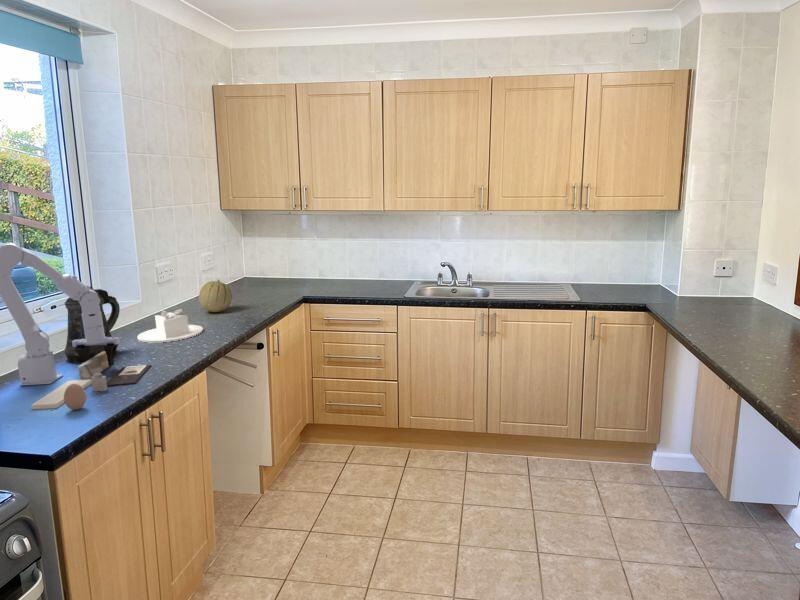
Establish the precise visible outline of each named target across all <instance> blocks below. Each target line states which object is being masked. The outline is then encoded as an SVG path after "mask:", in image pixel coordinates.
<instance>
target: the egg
mask: <svg viewBox="0 0 800 600" xmlns="http://www.w3.org/2000/svg"><path fill="white" fill-rule="evenodd" d="M64 402H65V403H64V404H65V406H66V407H67V408H69V410H72V411H78V409H79V410H80V409H82V408H83V407H84V406H85V404H86V402H87V394H86V390H84V389H83V388H82V387H81V386H80V385H78V384H71V385H69V386H68V387H67V388H66V390H65V393H64Z"/></svg>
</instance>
